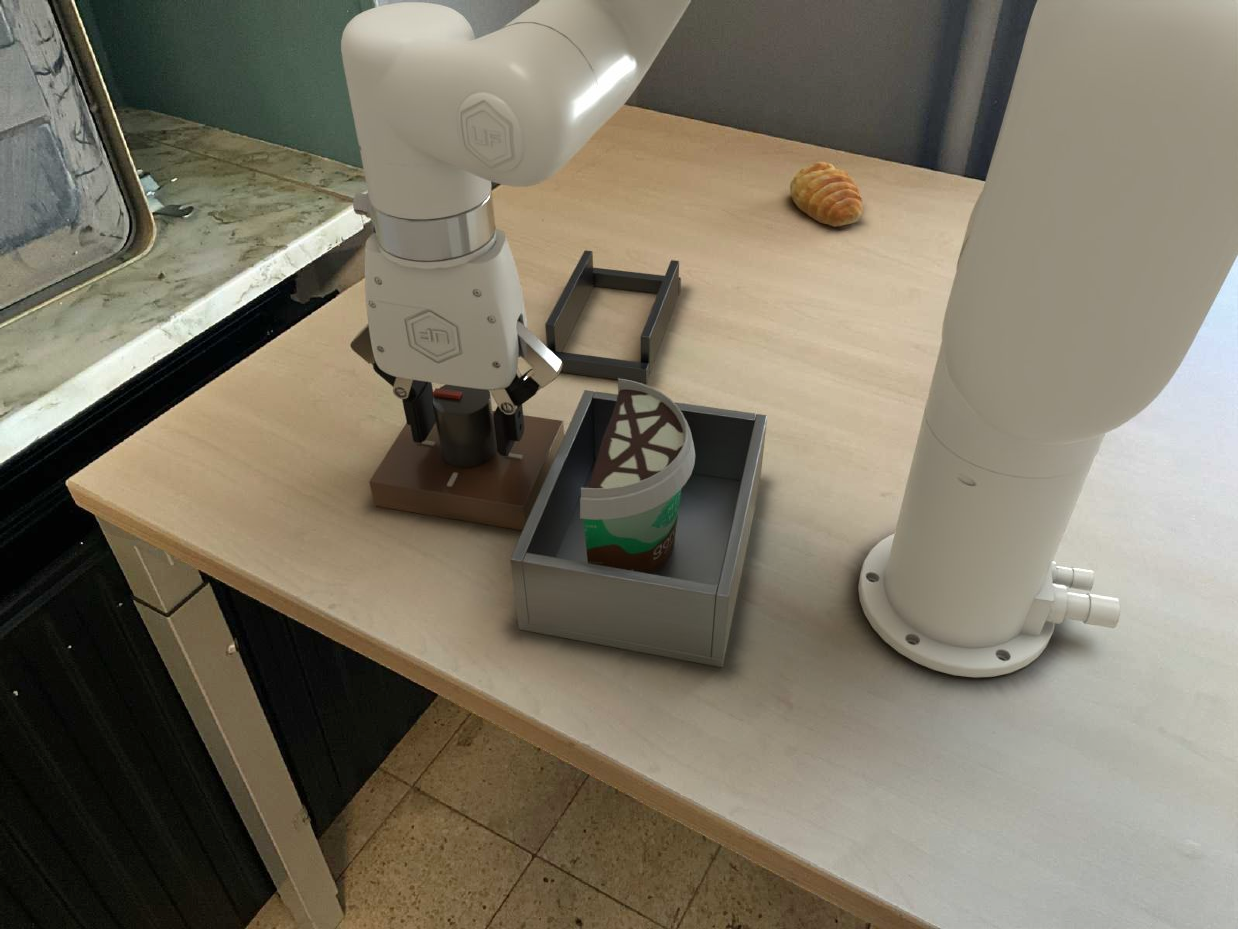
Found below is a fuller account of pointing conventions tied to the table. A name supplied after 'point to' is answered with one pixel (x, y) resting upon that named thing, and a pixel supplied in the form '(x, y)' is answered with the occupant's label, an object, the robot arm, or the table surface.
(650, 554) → the food container
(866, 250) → the table surface
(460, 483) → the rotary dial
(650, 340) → the dish rack
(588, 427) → the grey open box
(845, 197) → the pastry
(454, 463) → the tap knob
